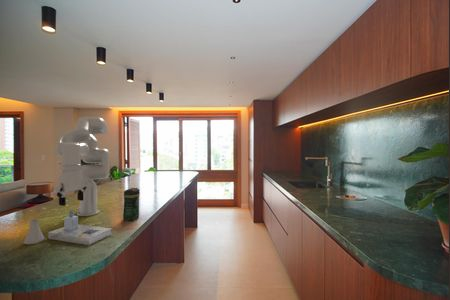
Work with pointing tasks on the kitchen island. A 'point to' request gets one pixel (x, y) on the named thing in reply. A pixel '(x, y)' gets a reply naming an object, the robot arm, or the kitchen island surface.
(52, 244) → the kitchen island surface
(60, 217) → the kitchen island surface
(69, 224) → the plug
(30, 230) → the flask
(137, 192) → the coffee jar
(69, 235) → the panel
